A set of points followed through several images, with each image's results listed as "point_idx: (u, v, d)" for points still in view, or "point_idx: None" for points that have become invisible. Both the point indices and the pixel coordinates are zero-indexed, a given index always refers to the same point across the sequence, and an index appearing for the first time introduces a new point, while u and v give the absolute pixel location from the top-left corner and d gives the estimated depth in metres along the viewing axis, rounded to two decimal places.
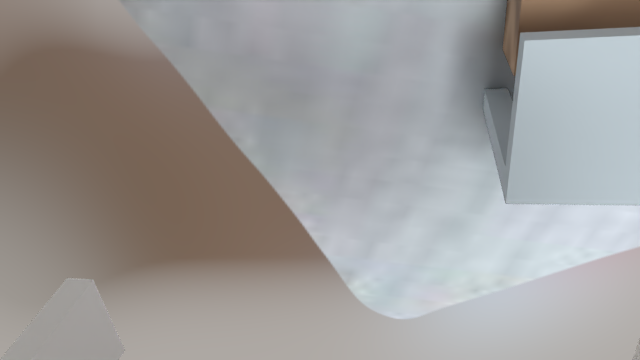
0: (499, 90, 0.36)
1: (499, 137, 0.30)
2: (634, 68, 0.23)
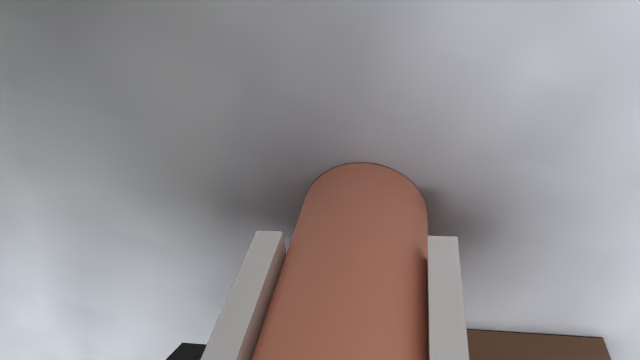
0: None
1: None
2: None
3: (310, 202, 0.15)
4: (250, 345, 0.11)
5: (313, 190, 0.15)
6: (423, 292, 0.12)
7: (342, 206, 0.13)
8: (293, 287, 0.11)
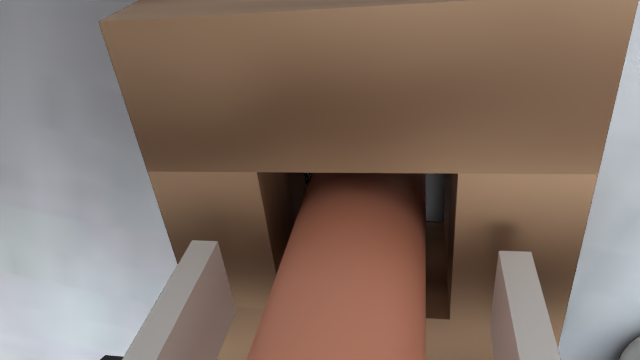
0: None
1: None
2: None
3: None
4: (170, 358, 0.11)
5: None
6: (420, 212, 0.15)
7: None
8: (315, 204, 0.14)
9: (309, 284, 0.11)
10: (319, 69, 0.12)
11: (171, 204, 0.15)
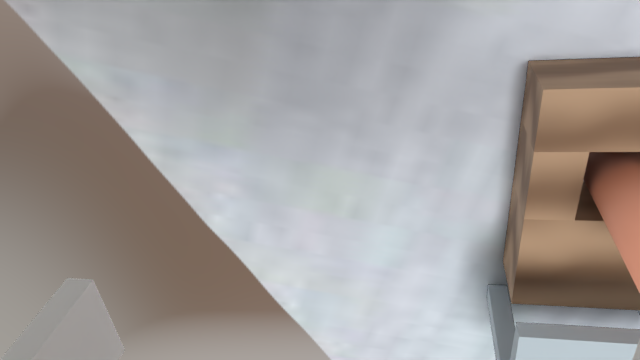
0: (500, 288, 0.45)
1: (499, 353, 0.39)
2: (597, 358, 0.31)
3: None
4: None
5: None
6: None
7: None
8: (613, 166, 0.32)
9: None
10: (636, 109, 0.30)
11: (539, 167, 0.33)
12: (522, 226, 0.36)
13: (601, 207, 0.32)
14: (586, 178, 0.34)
